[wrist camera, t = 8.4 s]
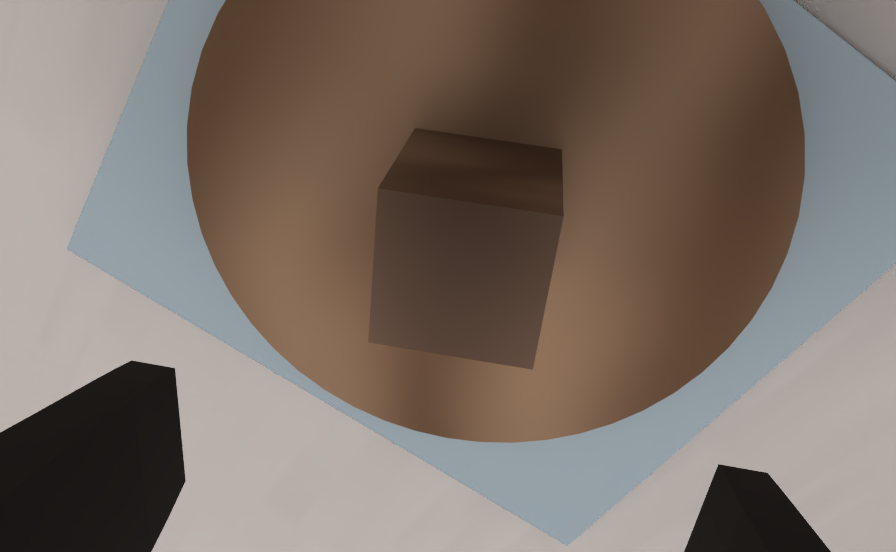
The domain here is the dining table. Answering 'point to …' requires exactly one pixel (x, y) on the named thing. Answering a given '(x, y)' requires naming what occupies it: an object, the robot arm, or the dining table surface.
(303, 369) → the lid
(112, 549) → the robot arm
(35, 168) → the dining table surface
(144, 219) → the mat
